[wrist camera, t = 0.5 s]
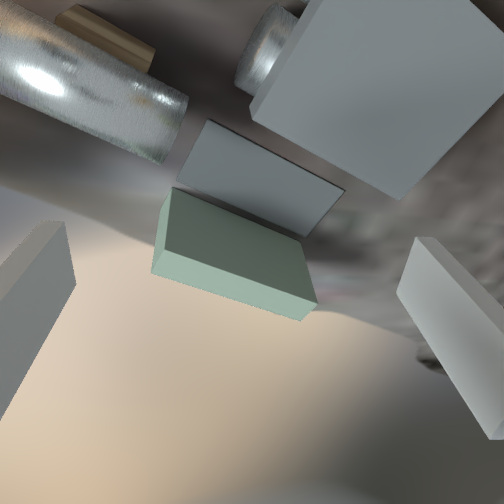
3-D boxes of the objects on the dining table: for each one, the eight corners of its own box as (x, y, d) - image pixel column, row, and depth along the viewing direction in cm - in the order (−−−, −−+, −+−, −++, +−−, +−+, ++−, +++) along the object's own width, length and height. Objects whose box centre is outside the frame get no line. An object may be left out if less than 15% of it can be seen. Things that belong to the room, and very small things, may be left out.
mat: (207, 118, 34) (207, 119, 33) (344, 190, 40) (344, 191, 40) (176, 179, 37) (175, 180, 37) (305, 236, 44) (305, 237, 44)
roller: (6, -16, 23) (-34, -2, 19) (190, 85, 28) (187, 113, 24) (-6, 65, 26) (-44, 92, 22) (162, 144, 30) (156, 178, 26)
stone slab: (361, -89, 20) (376, -89, 19) (511, 52, 26) (533, 61, 24) (249, 106, 27) (252, 119, 25) (388, 185, 32) (399, 200, 31)
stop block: (172, 187, 38) (164, 249, 31) (300, 242, 44) (318, 303, 37) (160, 209, 39) (150, 273, 32) (285, 258, 46) (300, 321, 39)
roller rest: (76, 2, 27) (56, 16, 23) (156, 48, 30) (149, 67, 26) (59, 69, 30) (38, 91, 26) (133, 106, 32) (124, 131, 29)
